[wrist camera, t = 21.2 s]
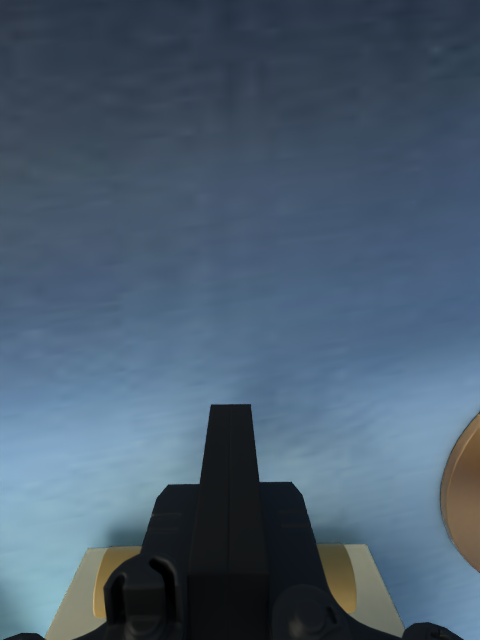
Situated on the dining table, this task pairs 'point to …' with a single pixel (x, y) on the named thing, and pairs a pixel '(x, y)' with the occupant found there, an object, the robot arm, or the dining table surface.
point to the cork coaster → (464, 494)
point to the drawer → (337, 560)
